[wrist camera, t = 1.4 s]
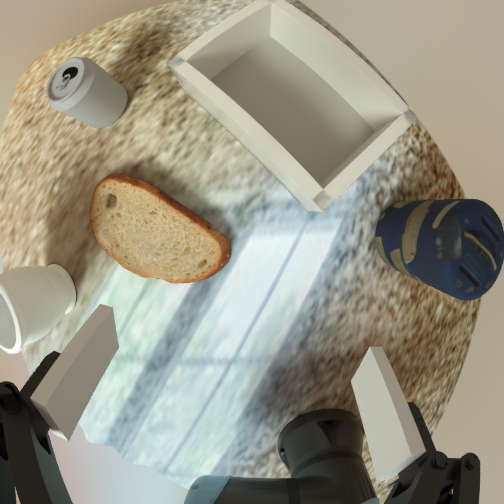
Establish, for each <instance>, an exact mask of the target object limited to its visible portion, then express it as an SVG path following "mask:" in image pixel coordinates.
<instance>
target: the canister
mask: <svg viewBox="0 0 504 504" xmlns="http://www.w3.org/2000/svg"><path fill="white" fill-rule="evenodd" d="M375 240H376V247H377V250H378V253H379V255H380V257H381V258H382V260H383V261H384V262H385V263H386V264H387V265H388V266H390V267H391V268H393V269H395V270H397V271H399V272H401V273H403V274H405V275H407V276H410V277H411V278H412V279H414V280H418V281H420V282H422V283H425V284H427V285H429V286H432V287H434V288H436V289H438V290H440V291H442V292H444V293H446V294H448V295H450V296H453V297H455V298H457V299H460V300H474V299H476V298H479V297H481V296H482V295H483V294H485V293H486V292H487V291H488V290H489V289H490V288H491V287H492V285H493V284H494V283H495V281H496V279H497V277H498V275H499V273H500V270H501V267H502V264H503V260H504V231H503V227H502V223H501V221H500V219H499V217H498V215H497V214H496V212H495V211H494V210H493V209H492V208H491V207H490V206H489V205H488V204H487V203H485V202H483V201H480V200H477V199H449V200H415V201H401V202H397V203H395V204H393V205H391V206H389V207H388V208H387V209H386V210H385V211H384V212H383V214H382V215H381V217H380V219H379V221H378V223H377V227H376V233H375Z"/></svg>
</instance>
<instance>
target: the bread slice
mask: <svg viewBox="0 0 504 504" xmlns="http://www.w3.org/2000/svg"><path fill="white" fill-rule="evenodd" d="M90 222H91V226H92V230H93V233H94V235H95V237H96V240H97V241H98V243H99V244H100V245H101V246H102V248H103V249H104V250H105V251H106V252H107V253H108V254H109V256H111V257H112V258H113V259H114V260H115V261H117V262H118V263H119V264H120V265H121V266H122V267H124V268H125V269H128V270H129V271H131V272H132V273H134V274H137V275H139V276H141V277H145V278H150V277H154V278H157V279H162V280H165V281H167V282H170V283H190V282H196V281H201V280H204V279H207V278H209V277H211V276H213V275H214V274H216V273H217V272H219V271H220V270H221V269H222V268H223V267H224V266H225V265H226V264H227V263H228V262H229V260H230V257H231V244H230V242H229V241H228V240H227V238H226V237H225V236H223V235H222V234H221V233H220V232H219V231H218V230H217V229H215V228H214V227H213V226H212V225H211V224H210V223H209V222H207V221H205V220H204V219H203V218H201V217H200V216H199V215H197V214H195V213H194V212H192V211H190V210H189V209H187V208H186V207H184V206H183V205H182V204H180V203H179V202H177V201H176V200H174V199H173V198H171V197H170V196H169V195H167V194H166V193H164V192H162V191H161V190H159V189H157V188H156V187H154V186H152V185H150V184H149V183H147V182H145V181H143V180H140V179H135V178H132V177H130V176H127V175H123V174H112V175H109V176H107V177H106V178H104V179H103V180H102V181H101V182H100V183H99V184H98V185H97V187H96V189H95V191H94V194H93V199H92V203H91V208H90Z"/></svg>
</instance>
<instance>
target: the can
mask: <svg viewBox="0 0 504 504" xmlns="http://www.w3.org/2000/svg"><path fill="white" fill-rule="evenodd" d="M46 97H47V99H48V101H50V105H51V106H52V108H53V109H55V110H57V111H59V112H61V113H63V114H66V115H68V116H70V117H72V118H75V119H77V120H79V121H81V122H84V123H86V124H88V125H90V126H93V127H95V128H103V127H107V126H109V125H110V124H112V123H114V122H115V121H116V120H117V119H118V118H119V117H120V116H121V114H122V112H123V111H124V109H125V106H126V104H127V92H126V89H125V88H124V87H123V86H122V85H121V84H120V83H119V82H118V81H117V80H115V79H114V78H113V77H112V76H111V75H110V74H108V73H107V72H106V71H105V70H104V69H102V68H101V67H100V66H99V65H97V64H96V63H95V62H94V61H93V60H91V59H89V58H86V57H84V58H79V57H74V58H70V59H68V60H66V61H65V62H63V63H62V64H61V65H59V67H58V68H57V69H56V70H55V71H54V72H53V74H52V76H51V77H50V79H49V82H48V84H47V89H46Z"/></svg>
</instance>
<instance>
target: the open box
mask: <svg viewBox="0 0 504 504" xmlns="http://www.w3.org/2000/svg"><path fill="white" fill-rule="evenodd" d="M167 65H168V66H169V68H170V69H171V71H172V72H173V74H174V75H175V77H176V78H177V80H178V81H179V83H180V84H181V86H182V87H183V89H184V90H185V92H186V93H187V94H188V95H189V96H190V97H191V98H193V99H194V100H195V101H196V102H197V103H198V104H199V105H200V106H202V107H203V108H204V109H205V110H206V111H207V112H208V113H209V114H210V115H211V116H213V117H214V118H215V119H216V120H217V121H218V122H219V123H220V124H221V125H222V126H223V127H224V128H226V129H227V130H228V131H229V132H230V133H231V134H232V135H233V136H234V137H235V138H236V139H237V140H238V141H239V142H240V143H241V144H242V145H243V146H244V147H245V148H246V149H247V150H248V151H249V152H250V153H251V154H252V155H253V156H255V157H256V158H257V159H258V160H259V161H260V162H261V163H262V164H263V166H264V167H265V168H266V169H267V170H268V171H269V172H270V173H271V174H272V175H273V176H274V177H275V178H276V179H277V180H278V181H279V182H280V183H281V184H282V185H283V186H284V187H285V188H286V189H287V190H288V191H289V192H290V193H291V195H292V196H293V197H294V198H295V199H296V200H297V201H298V202H299V203H300V204H301V205H302V206H303V207H304V209H305V210H306V211H324V210H325V209H326V208H327V207H328V206H329V205H330V204H331V203H332V202H333V201H334V200H335V199H336V198H337V197H338V196H339V195H340V194H341V193H342V192H343V191H344V190H345V189H346V188H347V187H348V186H350V185H351V184H352V183H353V182H354V181H355V180H356V179H357V178H358V177H359V176H360V175H361V174H362V173H363V172H364V171H365V170H366V169H367V168H368V167H369V166H370V165H371V164H372V163H373V162H374V161H375V160H376V159H377V158H378V157H379V156H380V155H381V154H382V153H383V152H384V151H385V150H386V149H387V148H388V147H389V146H390V145H391V144H392V143H393V142H394V141H395V140H396V139H397V138H398V137H399V136H400V135H401V134H402V133H403V132H404V131H405V130H406V129H407V128H408V127H409V126H410V125H411V124H412V123H413V122H414V121H415V120H416V119H417V117H416V116H415V114H414V113H413V112H412V111H411V110H410V108H409V107H408V106H407V105H406V104H405V103H404V101H403V100H402V99H401V98H400V97H399V96H398V95H397V94H396V93H395V91H394V90H393V89H392V88H391V87H390V86H389V85H388V84H387V83H386V82H385V81H384V80H383V79H382V78H381V77H380V76H379V75H378V74H377V73H376V72H375V71H374V70H373V69H372V68H371V67H370V66H369V65H368V64H367V63H366V62H365V61H364V60H362V59H361V58H360V57H359V56H358V55H357V54H356V53H355V52H354V51H352V50H351V49H350V48H349V47H348V46H347V45H345V44H344V43H343V42H342V41H341V40H339V39H338V38H337V37H336V36H334V35H333V34H332V33H331V32H329V31H328V30H327V29H325V28H324V27H323V26H321V25H320V24H319V23H317V22H316V21H315V20H313V19H312V18H310V17H309V16H308V15H306V14H305V13H303V12H302V11H300V10H299V9H297V8H296V7H294V6H293V5H291V4H289V3H288V2H286V1H285V0H257V1H255V2H253V3H251V4H250V5H248V6H246V7H245V8H243V9H241V10H239V11H238V12H236V13H235V14H233V15H231V16H230V17H228V18H227V19H225V20H224V21H222V22H221V23H219V24H218V25H216V26H215V27H213V28H212V29H210V30H209V31H207V32H206V33H205V34H203V35H202V36H200V37H199V38H198V39H196V40H195V41H194V42H192V43H191V44H190V45H188V46H187V47H186V48H185V49H183V50H182V51H181V52H180V53H178V54H177V55H176V56H175V57H173V58H172V59H171V60H170V61H169V62H168V63H167Z"/></svg>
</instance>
